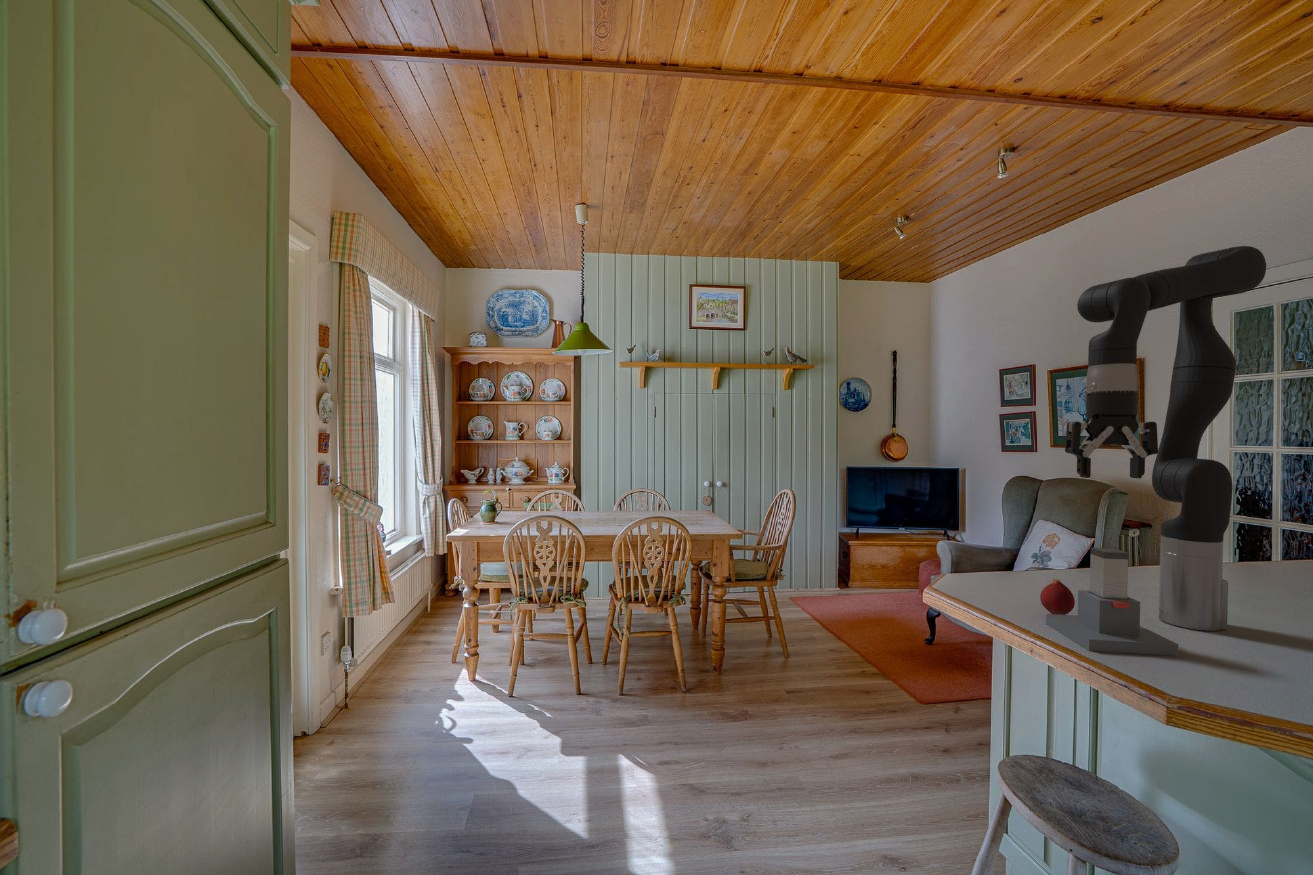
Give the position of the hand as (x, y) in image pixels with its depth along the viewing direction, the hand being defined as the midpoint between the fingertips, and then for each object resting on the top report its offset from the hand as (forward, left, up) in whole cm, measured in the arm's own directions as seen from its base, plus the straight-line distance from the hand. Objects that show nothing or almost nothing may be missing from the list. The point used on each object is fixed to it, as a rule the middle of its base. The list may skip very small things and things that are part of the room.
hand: (1110, 477), depth 106 cm
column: (0, 0, -28) cm, 28 cm away
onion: (+3, -12, -30) cm, 32 cm away
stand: (0, 0, -30) cm, 30 cm away
